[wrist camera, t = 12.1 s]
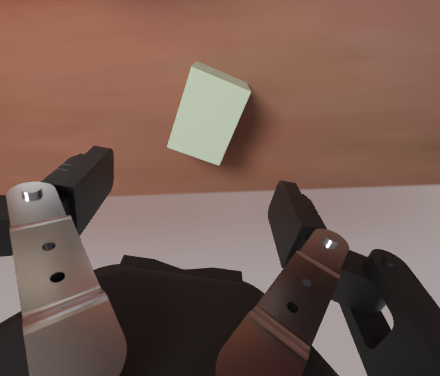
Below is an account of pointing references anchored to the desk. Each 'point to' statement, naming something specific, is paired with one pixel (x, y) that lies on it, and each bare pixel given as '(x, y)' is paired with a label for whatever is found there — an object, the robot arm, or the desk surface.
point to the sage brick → (208, 113)
